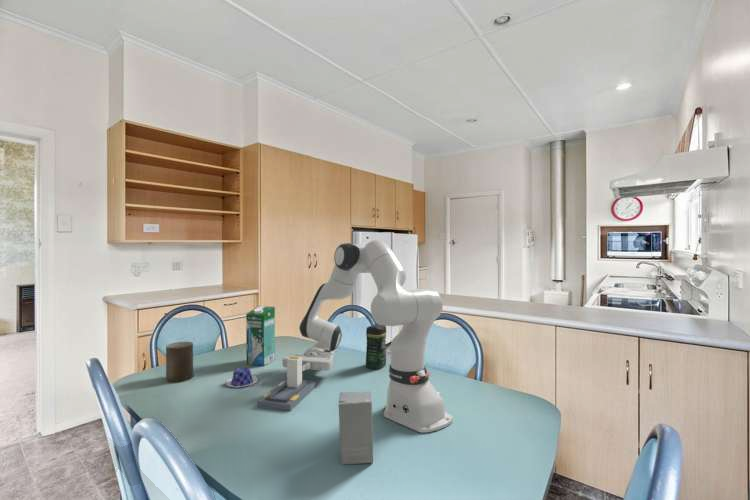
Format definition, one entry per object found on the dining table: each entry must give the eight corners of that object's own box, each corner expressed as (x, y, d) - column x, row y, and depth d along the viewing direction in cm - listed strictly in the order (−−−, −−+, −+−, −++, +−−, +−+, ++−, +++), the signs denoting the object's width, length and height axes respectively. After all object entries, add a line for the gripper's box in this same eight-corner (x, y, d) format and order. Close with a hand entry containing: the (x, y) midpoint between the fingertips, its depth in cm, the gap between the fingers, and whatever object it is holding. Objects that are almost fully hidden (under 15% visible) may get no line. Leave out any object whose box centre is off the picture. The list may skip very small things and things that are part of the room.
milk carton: (246, 364, 162) (246, 308, 161) (258, 358, 170) (258, 305, 170) (263, 366, 159) (263, 309, 159) (275, 360, 168) (274, 306, 167)
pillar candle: (192, 380, 142) (192, 342, 142) (163, 384, 138) (163, 345, 138) (194, 372, 151) (194, 337, 151) (168, 375, 147) (168, 339, 147)
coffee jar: (379, 371, 153) (379, 327, 153) (363, 368, 157) (363, 325, 156) (388, 364, 162) (388, 323, 162) (373, 361, 165) (373, 321, 165)
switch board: (286, 384, 138) (286, 377, 138) (315, 387, 136) (315, 379, 136) (257, 406, 119) (257, 398, 119) (290, 410, 116) (290, 402, 116)
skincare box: (372, 449, 94) (372, 389, 94) (373, 466, 87) (373, 401, 87) (340, 450, 94) (340, 390, 94) (338, 467, 87) (338, 401, 87)
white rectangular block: (292, 382, 135) (292, 355, 134) (302, 383, 134) (301, 355, 133) (287, 386, 131) (287, 358, 130) (297, 387, 130) (297, 359, 130)
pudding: (218, 386, 137) (218, 373, 137) (239, 376, 148) (239, 363, 148) (244, 391, 133) (244, 376, 133) (264, 379, 144) (264, 366, 144)
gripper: (291, 348, 152) (274, 358, 138) (337, 351, 147) (324, 362, 133) (291, 363, 152) (274, 374, 138) (337, 367, 147) (324, 379, 133)
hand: (299, 368), depth 136 cm, fingers closed
